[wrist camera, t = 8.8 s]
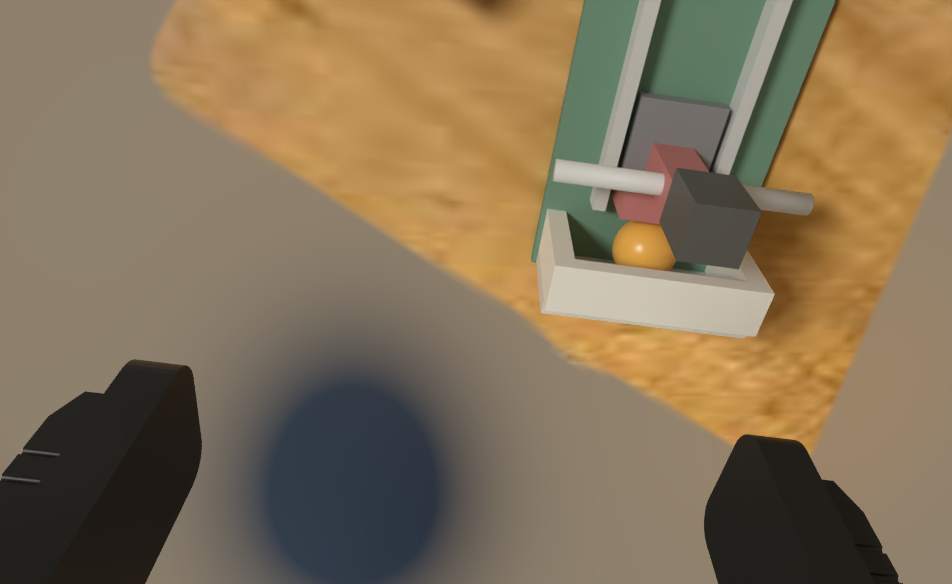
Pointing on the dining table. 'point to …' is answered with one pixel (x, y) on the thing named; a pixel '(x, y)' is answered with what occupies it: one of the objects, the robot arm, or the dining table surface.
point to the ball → (642, 247)
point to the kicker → (683, 182)
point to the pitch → (677, 91)
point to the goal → (648, 290)
